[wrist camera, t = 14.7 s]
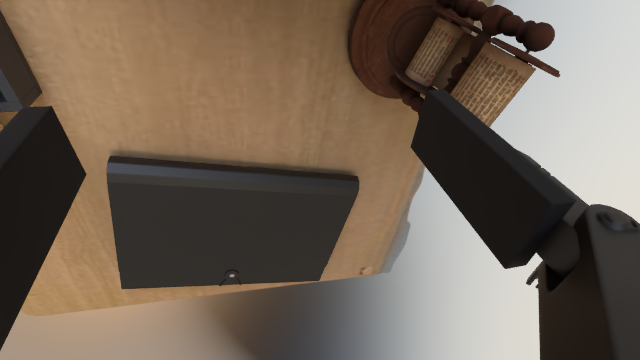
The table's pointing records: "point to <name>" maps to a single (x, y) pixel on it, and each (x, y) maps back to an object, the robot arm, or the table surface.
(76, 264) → the table surface
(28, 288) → the robot arm
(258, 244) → the file folder
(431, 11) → the scroll
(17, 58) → the cup holder
